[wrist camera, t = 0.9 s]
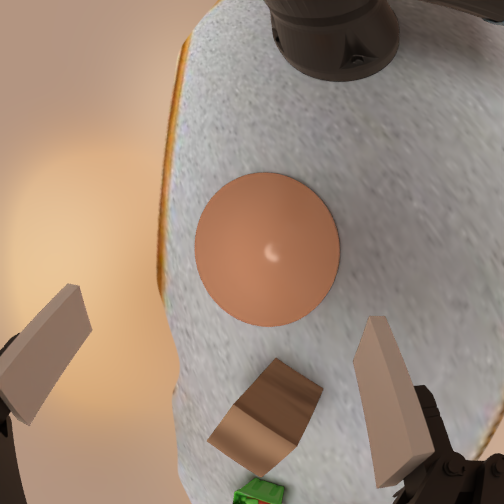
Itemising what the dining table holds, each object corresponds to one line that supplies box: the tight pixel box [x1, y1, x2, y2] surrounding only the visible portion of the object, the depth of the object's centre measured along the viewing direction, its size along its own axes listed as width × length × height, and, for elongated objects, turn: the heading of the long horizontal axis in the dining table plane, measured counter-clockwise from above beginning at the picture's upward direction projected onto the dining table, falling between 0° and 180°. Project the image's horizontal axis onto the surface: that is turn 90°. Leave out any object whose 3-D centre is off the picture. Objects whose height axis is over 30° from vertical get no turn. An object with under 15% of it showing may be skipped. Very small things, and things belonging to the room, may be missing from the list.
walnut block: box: [207, 358, 323, 477], centre depth 29 cm, size 7×7×11 cm
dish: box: [195, 173, 340, 327], centre depth 33 cm, size 17×17×1 cm
